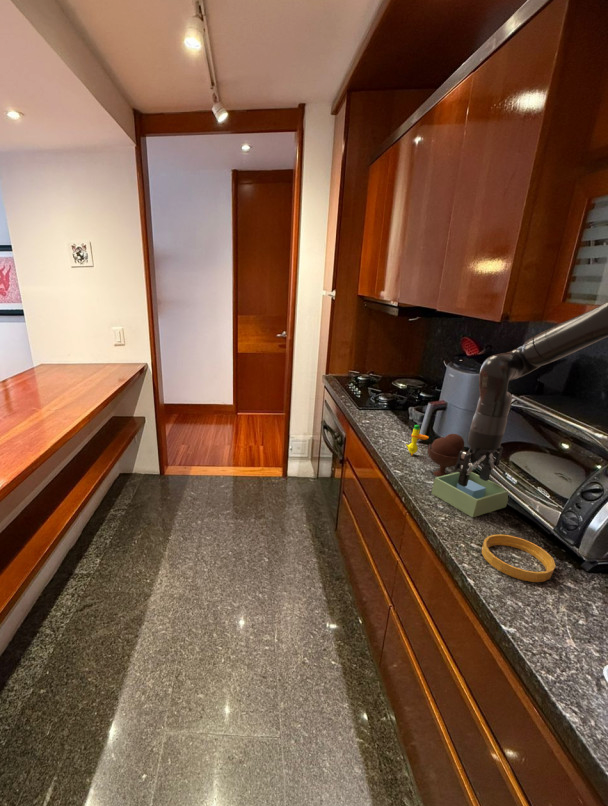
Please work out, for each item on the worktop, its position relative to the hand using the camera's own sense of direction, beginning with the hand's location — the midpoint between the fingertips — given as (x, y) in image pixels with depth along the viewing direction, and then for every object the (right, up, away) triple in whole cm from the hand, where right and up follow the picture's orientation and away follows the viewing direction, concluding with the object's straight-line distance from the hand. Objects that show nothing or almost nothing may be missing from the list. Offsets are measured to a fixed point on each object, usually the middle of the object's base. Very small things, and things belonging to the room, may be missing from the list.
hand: (473, 482), depth 108 cm
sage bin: (0, -6, +3) cm, 7 cm away
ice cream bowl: (0, 0, +17) cm, 17 cm away
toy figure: (-2, +5, +30) cm, 30 cm away
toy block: (0, -6, +2) cm, 6 cm away
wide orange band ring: (-4, -16, -21) cm, 26 cm away
